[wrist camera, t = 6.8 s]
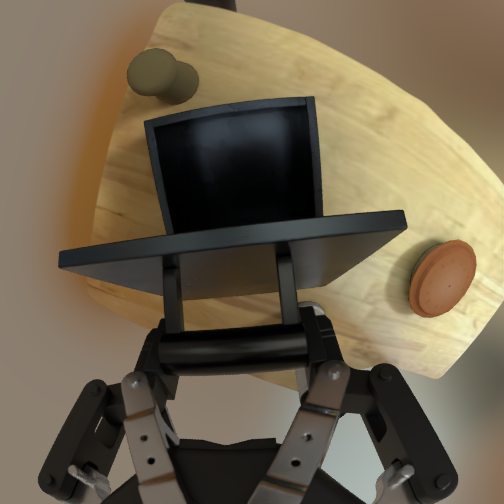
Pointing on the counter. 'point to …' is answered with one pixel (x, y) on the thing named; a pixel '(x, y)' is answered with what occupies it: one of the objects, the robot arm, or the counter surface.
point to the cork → (162, 76)
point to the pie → (441, 278)
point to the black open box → (237, 164)
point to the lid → (238, 282)
